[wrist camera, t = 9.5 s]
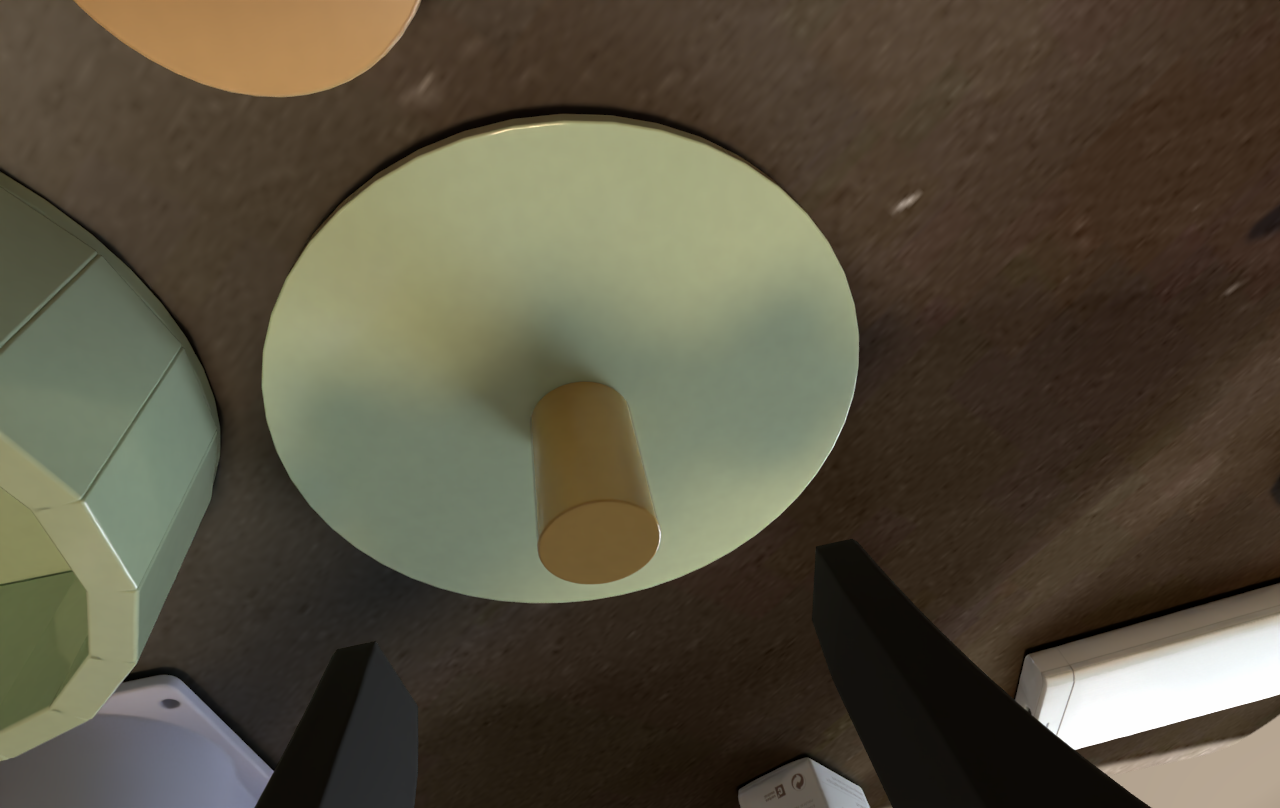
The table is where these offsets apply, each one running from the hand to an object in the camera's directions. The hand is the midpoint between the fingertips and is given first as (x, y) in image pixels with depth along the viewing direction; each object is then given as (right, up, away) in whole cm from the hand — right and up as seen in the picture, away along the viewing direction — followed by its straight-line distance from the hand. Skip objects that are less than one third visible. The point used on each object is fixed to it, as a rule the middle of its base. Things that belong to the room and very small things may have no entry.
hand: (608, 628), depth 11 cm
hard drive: (+23, -8, +20) cm, 32 cm away
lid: (-1, +4, +5) cm, 6 cm away
